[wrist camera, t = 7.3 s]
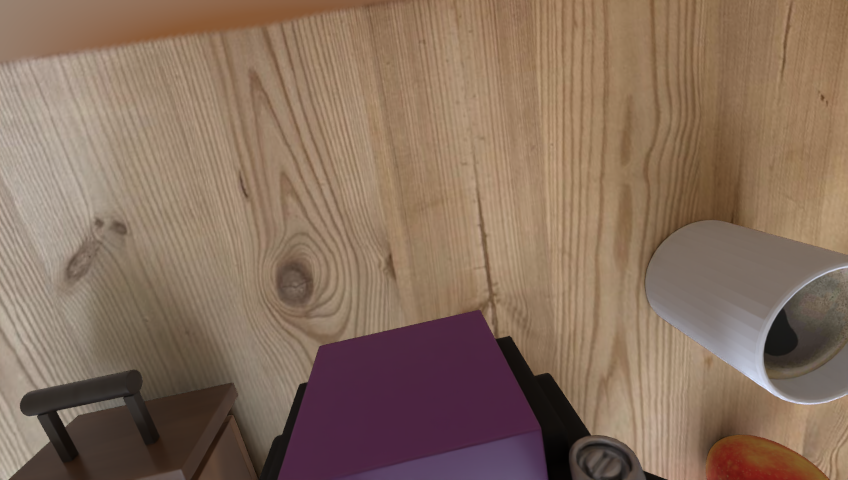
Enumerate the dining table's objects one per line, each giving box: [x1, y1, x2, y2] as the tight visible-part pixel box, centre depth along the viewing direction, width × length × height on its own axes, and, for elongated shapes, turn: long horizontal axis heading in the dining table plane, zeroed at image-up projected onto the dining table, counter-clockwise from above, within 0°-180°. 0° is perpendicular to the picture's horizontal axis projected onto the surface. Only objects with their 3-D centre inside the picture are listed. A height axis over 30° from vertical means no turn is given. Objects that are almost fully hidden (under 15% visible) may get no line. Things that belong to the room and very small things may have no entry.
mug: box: [645, 220, 848, 404], centre depth 27 cm, size 11×10×10 cm
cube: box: [278, 310, 548, 480], centre depth 10 cm, size 5×5×5 cm
